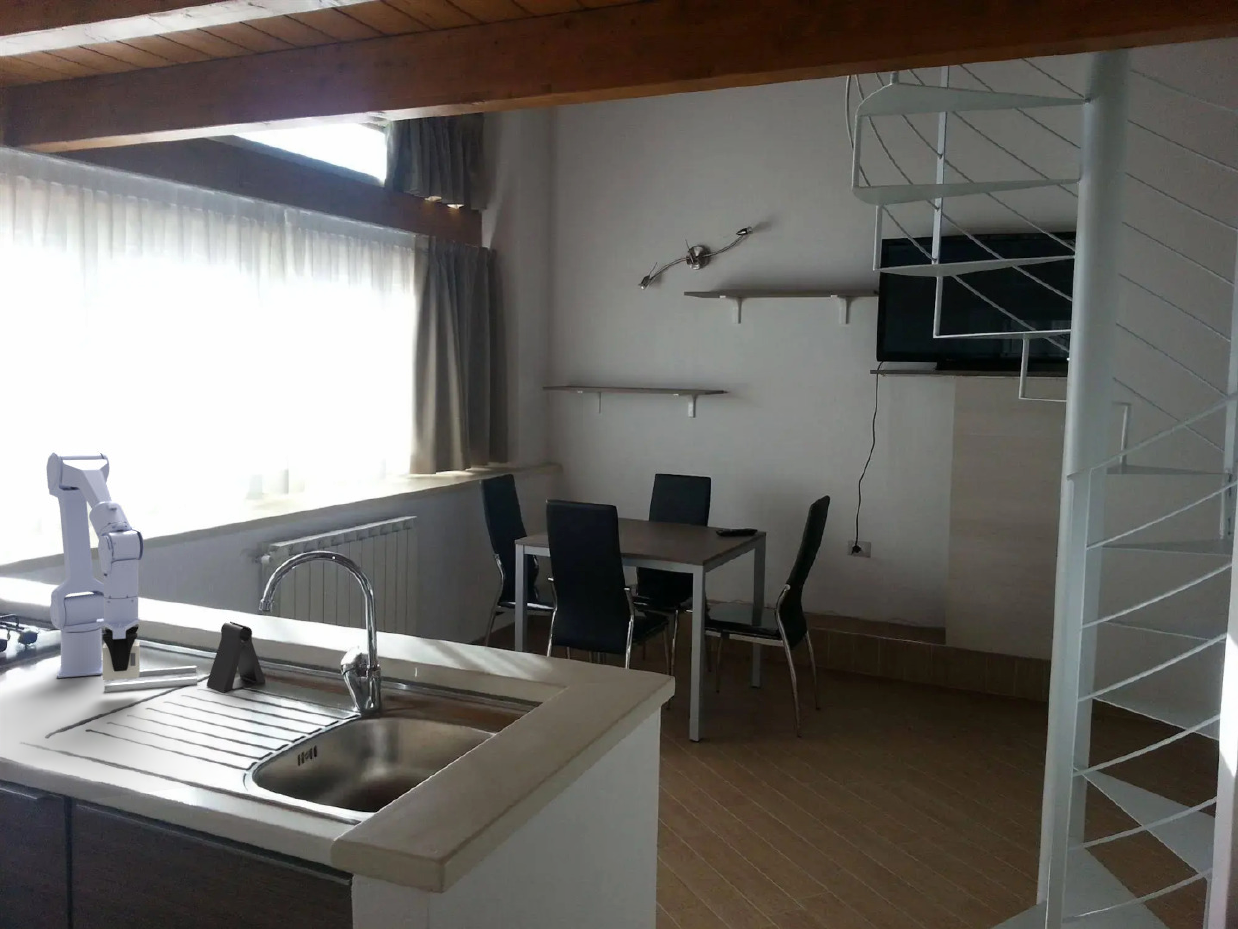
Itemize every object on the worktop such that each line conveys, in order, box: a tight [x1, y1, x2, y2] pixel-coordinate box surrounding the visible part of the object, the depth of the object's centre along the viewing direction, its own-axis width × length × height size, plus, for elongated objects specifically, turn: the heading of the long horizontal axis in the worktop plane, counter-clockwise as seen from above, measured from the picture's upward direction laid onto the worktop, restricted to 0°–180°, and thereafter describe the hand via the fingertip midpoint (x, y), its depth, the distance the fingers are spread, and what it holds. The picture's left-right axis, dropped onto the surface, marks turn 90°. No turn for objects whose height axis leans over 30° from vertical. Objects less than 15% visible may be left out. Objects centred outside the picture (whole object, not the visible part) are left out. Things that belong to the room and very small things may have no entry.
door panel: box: [102, 640, 141, 681], centre depth 182 cm, size 3×6×6 cm, turn 114°
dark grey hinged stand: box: [206, 621, 266, 694], centre depth 191 cm, size 9×6×12 cm, turn 143°
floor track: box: [104, 665, 198, 693], centre depth 191 cm, size 9×16×1 cm, turn 114°
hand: (121, 667), depth 182 cm, fingers closed on door panel, 3 cm apart
